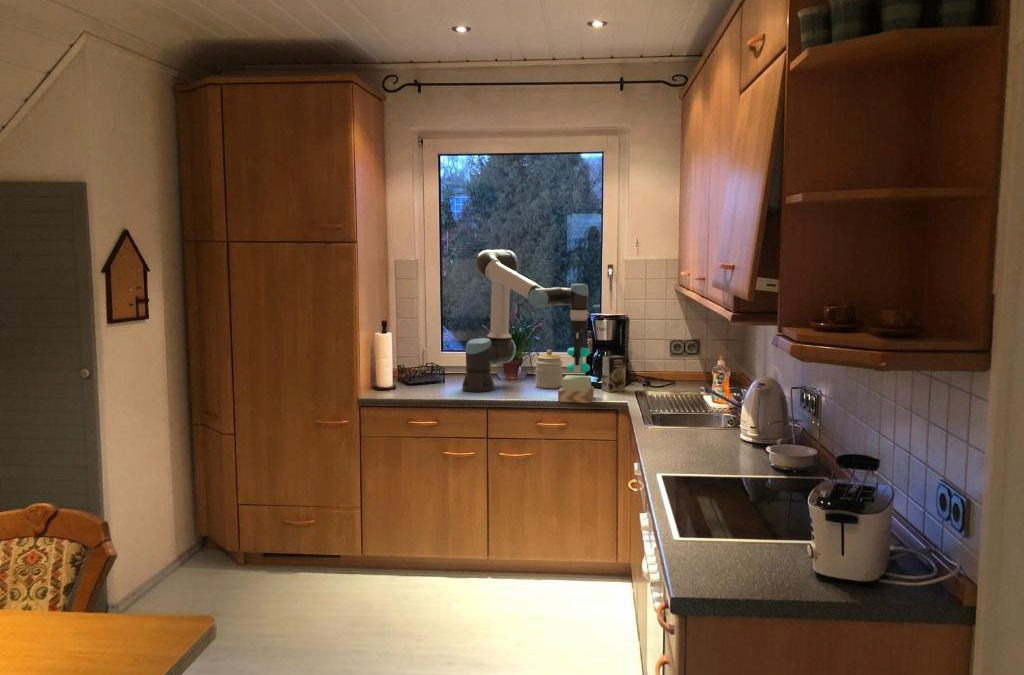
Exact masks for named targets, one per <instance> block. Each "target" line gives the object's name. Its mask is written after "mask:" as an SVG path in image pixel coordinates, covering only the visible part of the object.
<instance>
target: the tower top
mask: <svg viewBox="0 0 1024 675" xmlns="http://www.w3.org/2000/svg"><path fill="white" fill-rule="evenodd" d="M591 387H592V376H590V375H573V374H571V375H568V374H567V375H565V376H564V377H562V391H579V392H588V391H589V389H590V388H591Z"/></svg>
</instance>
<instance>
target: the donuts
mask: <svg viewBox="0 0 1024 675" xmlns="http://www.w3.org/2000/svg"><path fill="white" fill-rule="evenodd" d="M566 352H567V355H568V356H570V357H572V356H574V346H573V347H568V349H567V351H566ZM590 354H591V350H590V348H588V347H584V346H583V347H581V350H580V357H583V358H585V357H588V356H589V355H590ZM566 369H567V371H569V372H571V373H574V361H573V362H570V363H569V364H567V366H566ZM590 370H591V366H590V364H588V363H586V362H584V361H583V362H580V373H587V372H590ZM580 373H579V374H580Z"/></svg>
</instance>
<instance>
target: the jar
mask: <svg viewBox="0 0 1024 675" xmlns="http://www.w3.org/2000/svg"><path fill="white" fill-rule="evenodd" d="M536 358H537V360H536V361H535V364H536V367H535V387H537V388H540V387H541V389H558V387H559V388H561V386H562V379H563V371H564V369H563V368H562V366H563V361H562V360H561V358H562V357H561V355H559V354H557V353H553V350H552V349H547V350H546V352H545V353H541V354H539V355H537V357H536Z"/></svg>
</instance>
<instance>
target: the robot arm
mask: <svg viewBox="0 0 1024 675" xmlns="http://www.w3.org/2000/svg"><path fill="white" fill-rule="evenodd" d="M519 267H520V261H519V258H518V256H517V255H516V253H515V252H513V251H512V250H510V249H509V250H508V249H486V250H482V251H481V252H479V253H478V255H477V256H476V258H475V268H476V270H477V272H478V273H480V275H482V276H483V277H484V278H487V279H489V280H490V281H491V302H490V303H491V305H490V331H489V333H488V334H487V335H486V337H485V338H484V337H479V338H474V339H473V338H472V339H469V341H467V342H466V345H465V376H464V378H463V381H462V386H461V390H462V389H463V390H462V391H464V390H466V391H465V392H469V391H473V392H474V393H484V392H485V391H488V392H492V390H493V391H495V390H494V389H495V388H496V387H495V386H496V385H495V381H494V378H493V376H492V366H495V365H503V364H507V363H509V362H511V361H512V360H514V358H515V356H516V353H517V345H516V344H515V342H514V340H513V339H512V337H513V336H512V335H511V334H510V332H509V330H510V329H509V328H510V323H509V322H510V298H511V297H510V294H511V291H510V290H512V291H513V292H515V293H517V294H519V295H520V296H523V298H526V299H527V300H528V301H529V304H530V305H531V306H533V307H539V308H542V307H549V306H570V312H569V314H570V315H569V316H570V321H569V322H570V323H569V324H570V325H569V326H570V329H572V330H575V332H574V333H573V337H574V338H573V347H574V356H571V357H572V358H573V362H574V372H573V373H574V374H575V373H577V374H578V373H579V374H580V362H583V363H584V357H580V350H581V347H583V348H584V337H585V332H584V330H587V329H588V327H589V323H588V322H589V321H588V319H589V317H588V316H589V315H590V312H589V310H588V309H589V306H588V305H589V286H588V284H587V283H572V284H570V287H559V286H553V287H551V288H550V287H549V288H545V287H543V286H541V285H539V284H538V283H536V282H535V281H533V280H531V279H528V278H527V277H525V276H523V275H521V274H519V273H518V272H517V271H518V270H519ZM473 392H472V393H473ZM485 393H486V392H485Z"/></svg>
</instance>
